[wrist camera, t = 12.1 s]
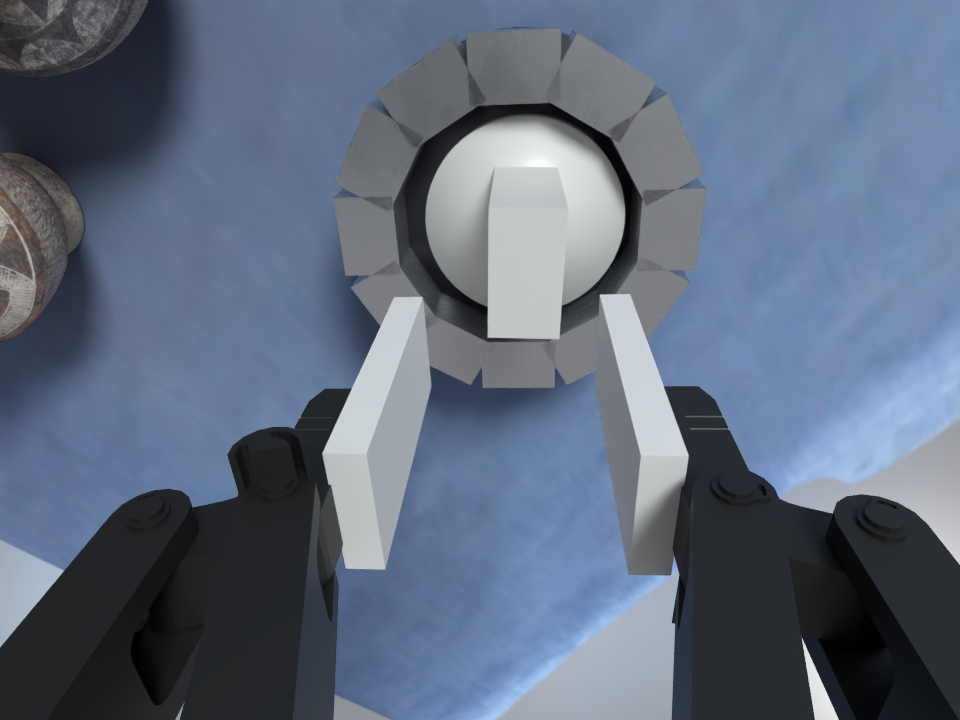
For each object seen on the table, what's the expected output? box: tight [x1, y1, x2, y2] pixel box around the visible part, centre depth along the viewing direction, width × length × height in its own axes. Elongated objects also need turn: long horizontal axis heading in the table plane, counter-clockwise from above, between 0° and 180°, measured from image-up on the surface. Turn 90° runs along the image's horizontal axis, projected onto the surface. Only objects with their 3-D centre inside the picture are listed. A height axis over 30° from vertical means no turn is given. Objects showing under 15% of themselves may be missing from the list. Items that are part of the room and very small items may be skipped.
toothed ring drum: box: [333, 27, 707, 388], centre depth 28 cm, size 14×14×8 cm
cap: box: [425, 112, 625, 339], centre depth 23 cm, size 8×8×8 cm
